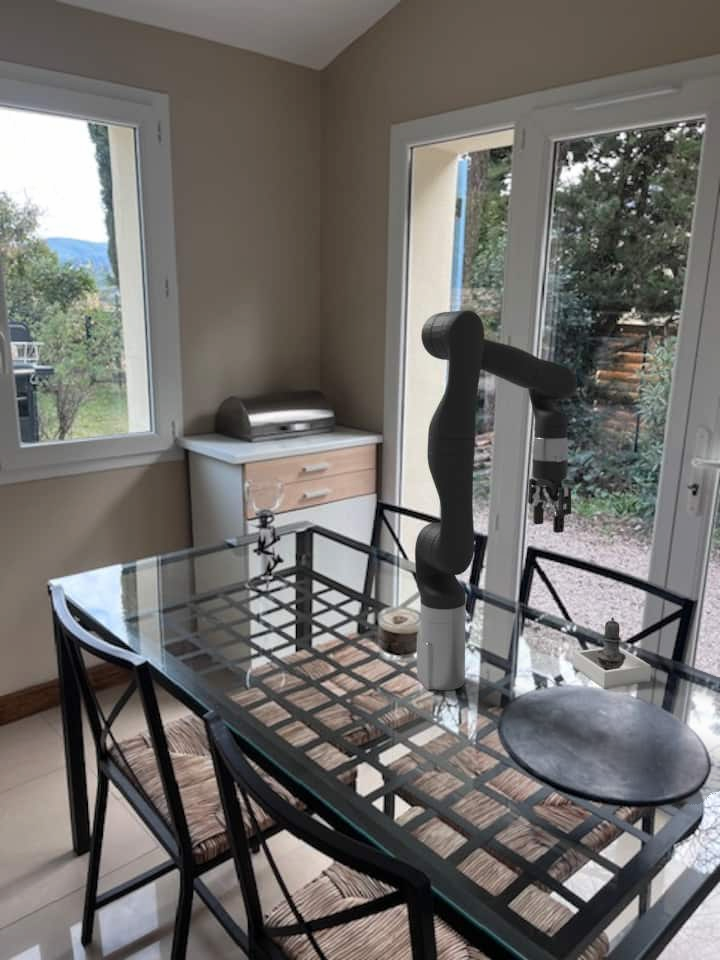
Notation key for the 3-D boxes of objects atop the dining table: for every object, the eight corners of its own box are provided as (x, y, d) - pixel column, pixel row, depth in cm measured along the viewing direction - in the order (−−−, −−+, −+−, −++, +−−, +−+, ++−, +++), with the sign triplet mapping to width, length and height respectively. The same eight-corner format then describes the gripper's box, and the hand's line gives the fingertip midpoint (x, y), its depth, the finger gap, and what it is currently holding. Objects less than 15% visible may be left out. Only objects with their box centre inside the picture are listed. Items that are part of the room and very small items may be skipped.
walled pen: (603, 688, 145) (604, 672, 145) (573, 667, 156) (573, 651, 155) (649, 681, 148) (650, 665, 148) (616, 660, 159) (617, 645, 158)
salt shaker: (627, 678, 148) (629, 622, 147) (597, 676, 150) (599, 621, 148) (622, 666, 154) (625, 613, 152) (594, 664, 155) (596, 611, 153)
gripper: (519, 454, 166) (517, 522, 169) (552, 462, 153) (550, 536, 155) (548, 452, 168) (546, 520, 171) (583, 460, 155) (580, 533, 157)
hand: (548, 528), depth 163 cm, fingers open, 8 cm apart
